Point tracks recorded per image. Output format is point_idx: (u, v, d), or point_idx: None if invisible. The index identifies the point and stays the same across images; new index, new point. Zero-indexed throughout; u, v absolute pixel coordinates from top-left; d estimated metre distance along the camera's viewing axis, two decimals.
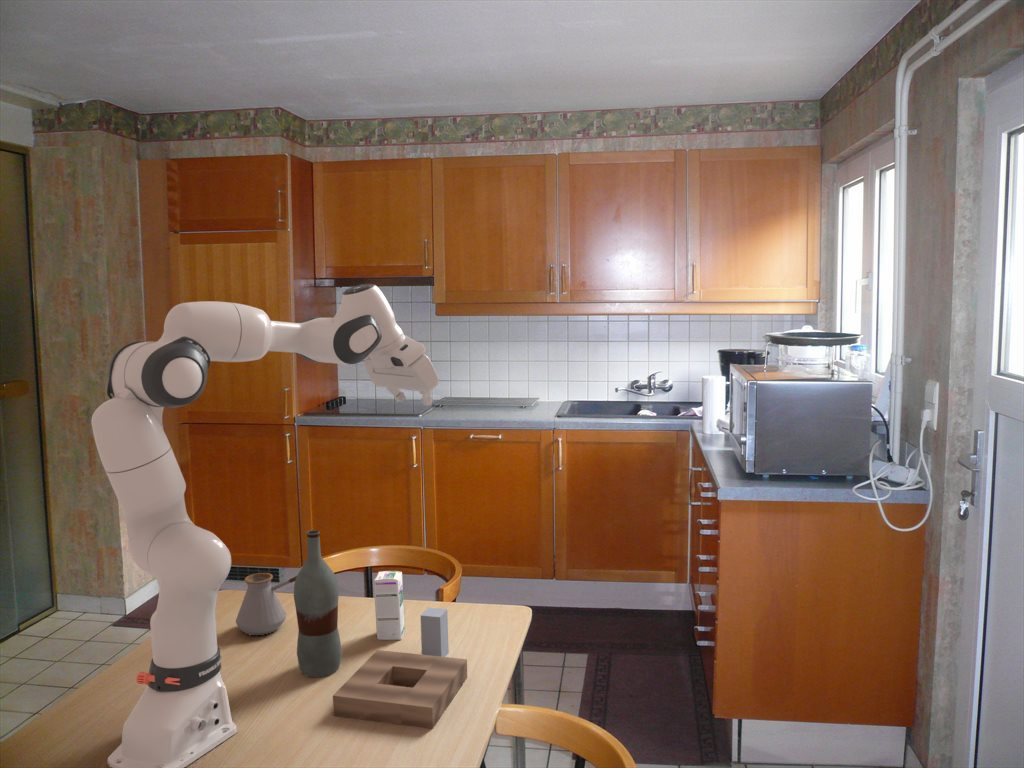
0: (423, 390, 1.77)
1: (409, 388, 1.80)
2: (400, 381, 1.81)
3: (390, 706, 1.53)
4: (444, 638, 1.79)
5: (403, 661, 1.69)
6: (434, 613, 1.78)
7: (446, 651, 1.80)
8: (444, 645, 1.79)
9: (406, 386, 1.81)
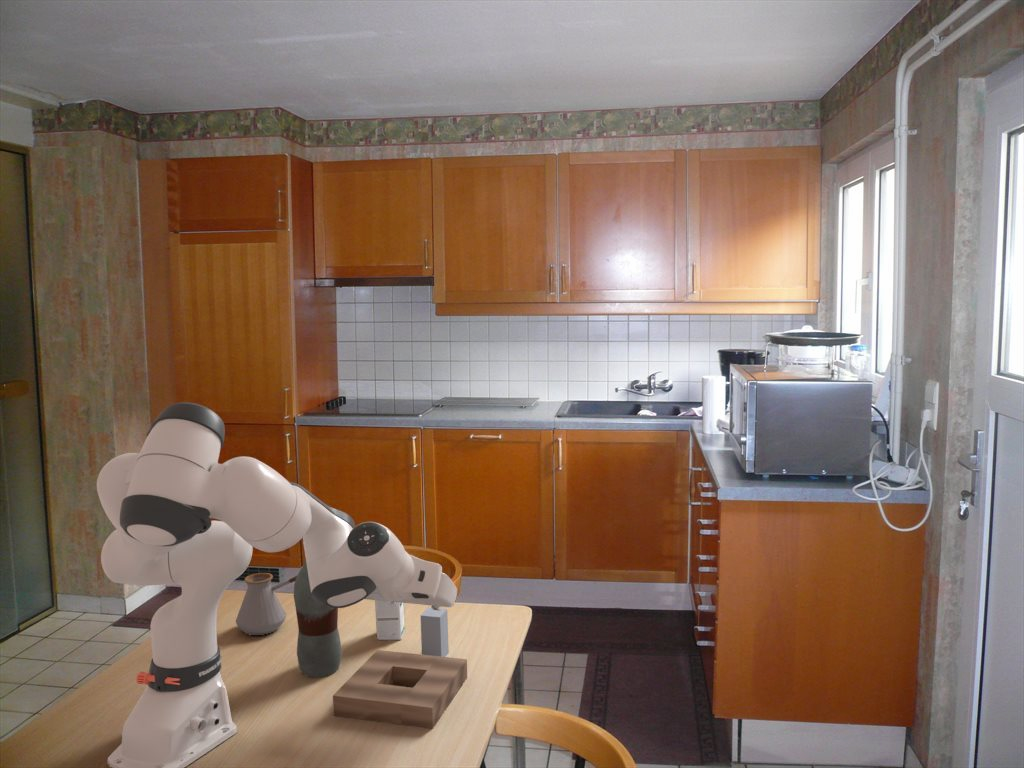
0: (444, 606, 1.60)
1: (421, 604, 1.61)
2: (409, 600, 1.61)
3: (390, 706, 1.53)
4: (444, 638, 1.79)
5: (403, 661, 1.69)
6: (434, 613, 1.78)
7: (446, 651, 1.80)
8: (444, 645, 1.79)
9: (417, 603, 1.61)
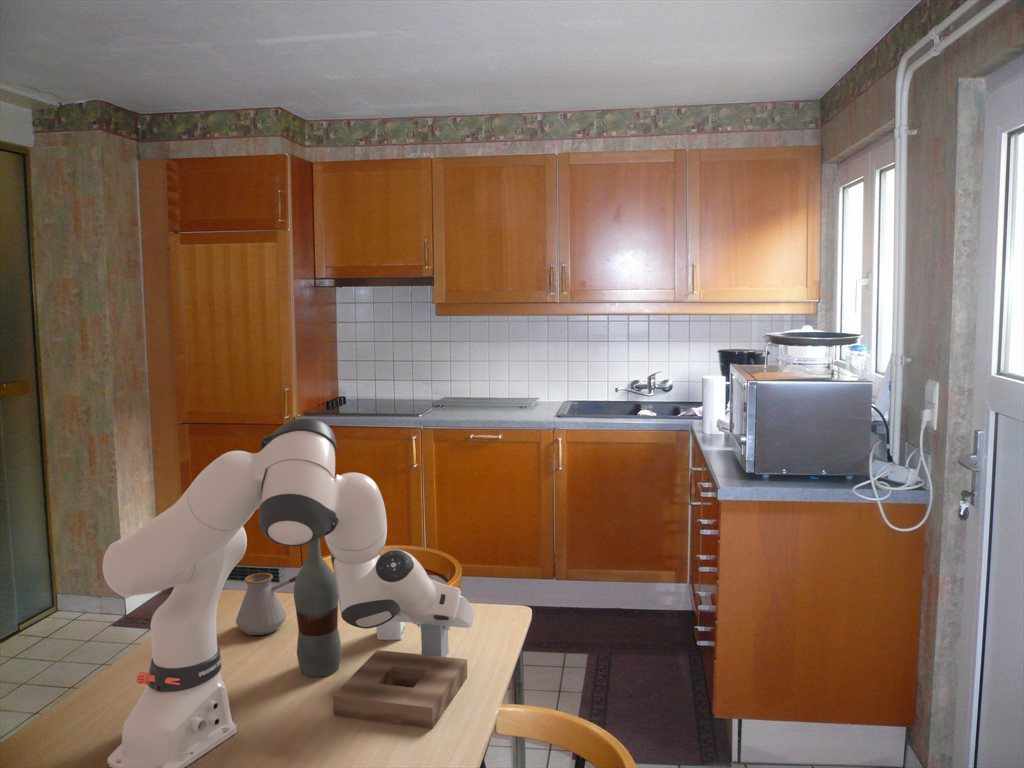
0: (462, 627, 1.73)
1: (441, 625, 1.74)
2: (430, 621, 1.73)
3: (390, 706, 1.53)
4: (444, 637, 1.79)
5: (403, 661, 1.69)
6: None
7: (446, 651, 1.80)
8: (444, 645, 1.79)
9: (437, 624, 1.74)
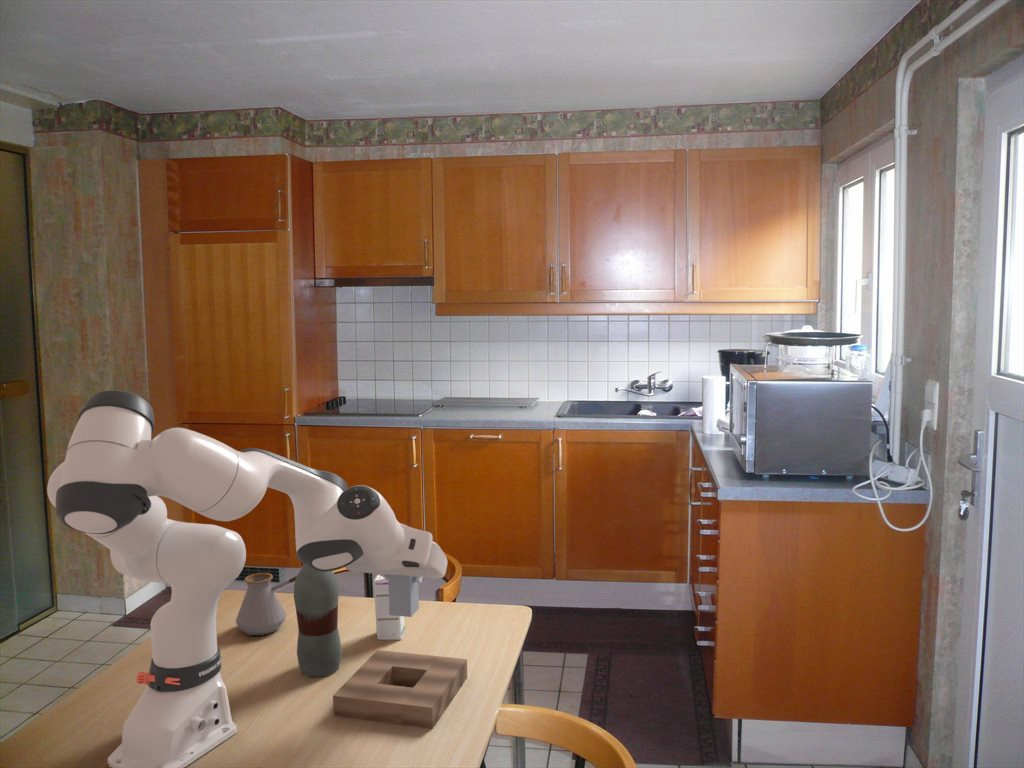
0: (434, 577, 1.56)
1: (411, 575, 1.57)
2: (398, 571, 1.57)
3: (390, 706, 1.53)
4: (414, 591, 1.62)
5: (403, 661, 1.69)
6: None
7: (416, 606, 1.64)
8: (414, 599, 1.63)
9: (407, 574, 1.57)
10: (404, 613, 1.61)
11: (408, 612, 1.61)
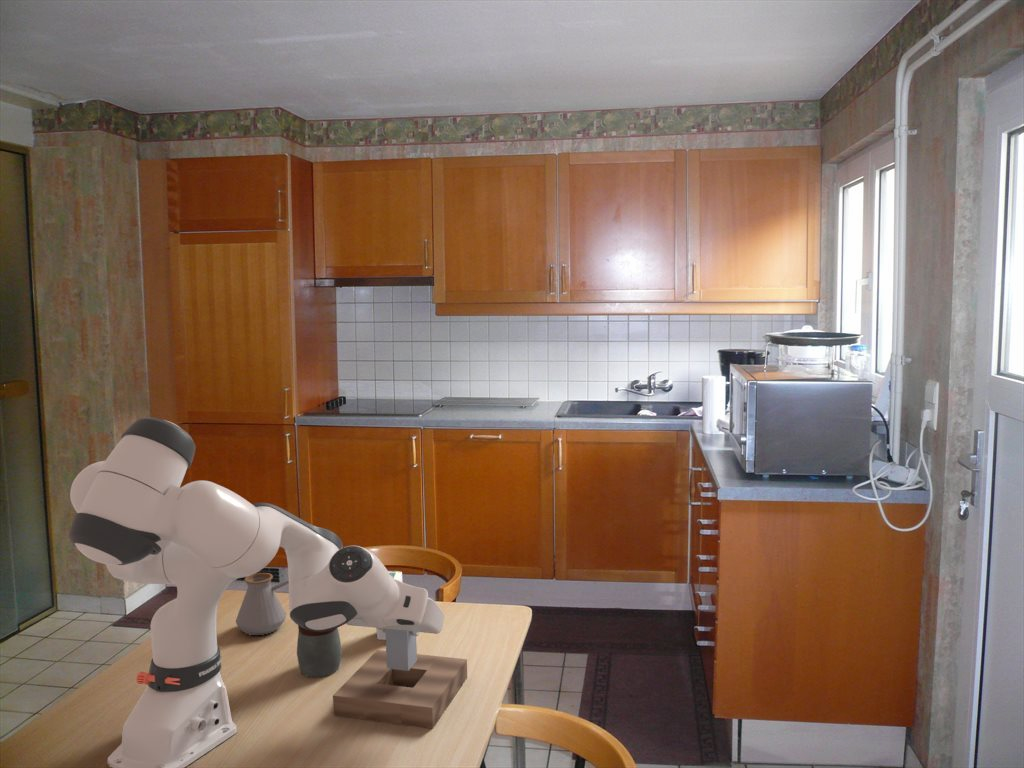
0: (431, 632, 1.55)
1: (407, 630, 1.56)
2: (394, 626, 1.55)
3: (390, 706, 1.53)
4: (411, 644, 1.61)
5: None
6: None
7: (414, 658, 1.62)
8: (412, 652, 1.61)
9: (403, 629, 1.56)
10: (401, 667, 1.60)
11: (405, 666, 1.59)
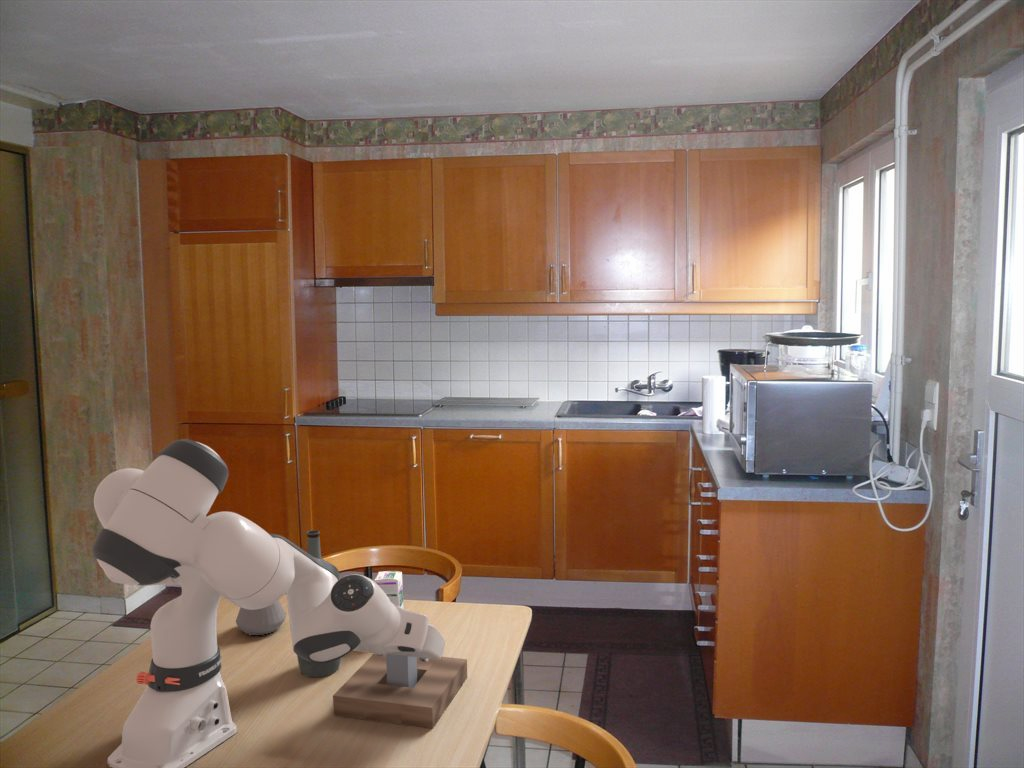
0: (431, 658, 1.55)
1: None
2: (395, 651, 1.56)
3: (390, 706, 1.53)
4: (412, 676, 1.62)
5: None
6: None
7: None
8: (413, 684, 1.62)
9: (404, 654, 1.56)
10: None
11: None
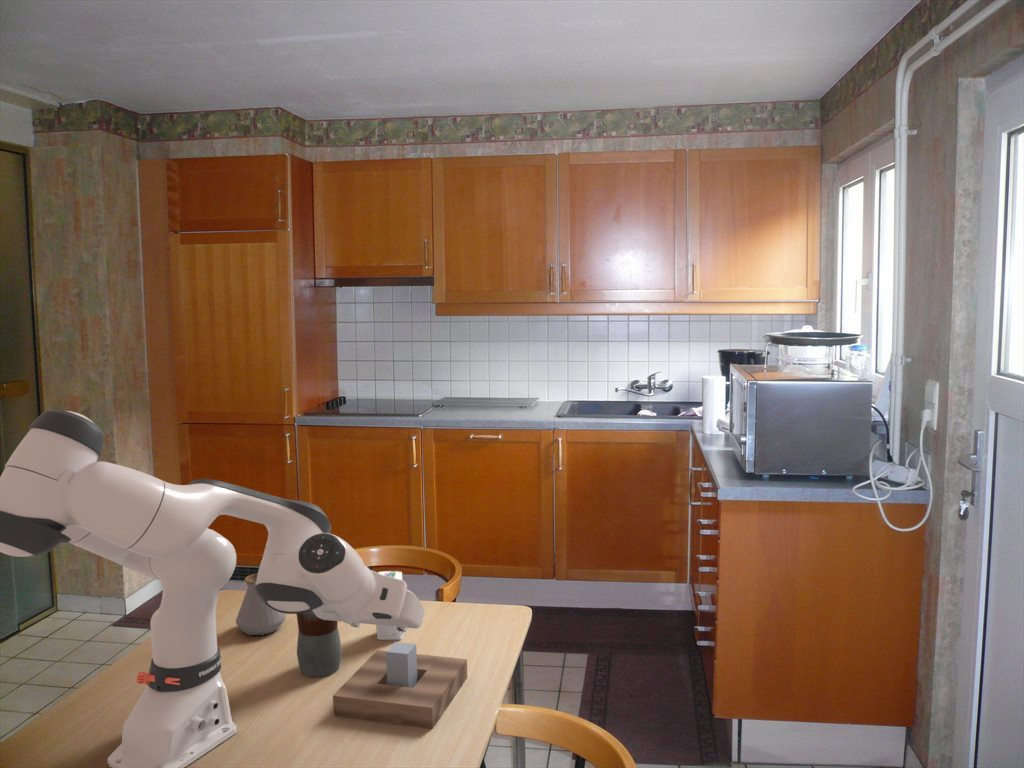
0: (410, 627, 1.45)
1: (385, 625, 1.46)
2: (371, 620, 1.45)
3: (390, 706, 1.53)
4: (412, 676, 1.62)
5: None
6: (401, 649, 1.61)
7: None
8: (413, 684, 1.62)
9: (381, 623, 1.46)
10: None
11: None
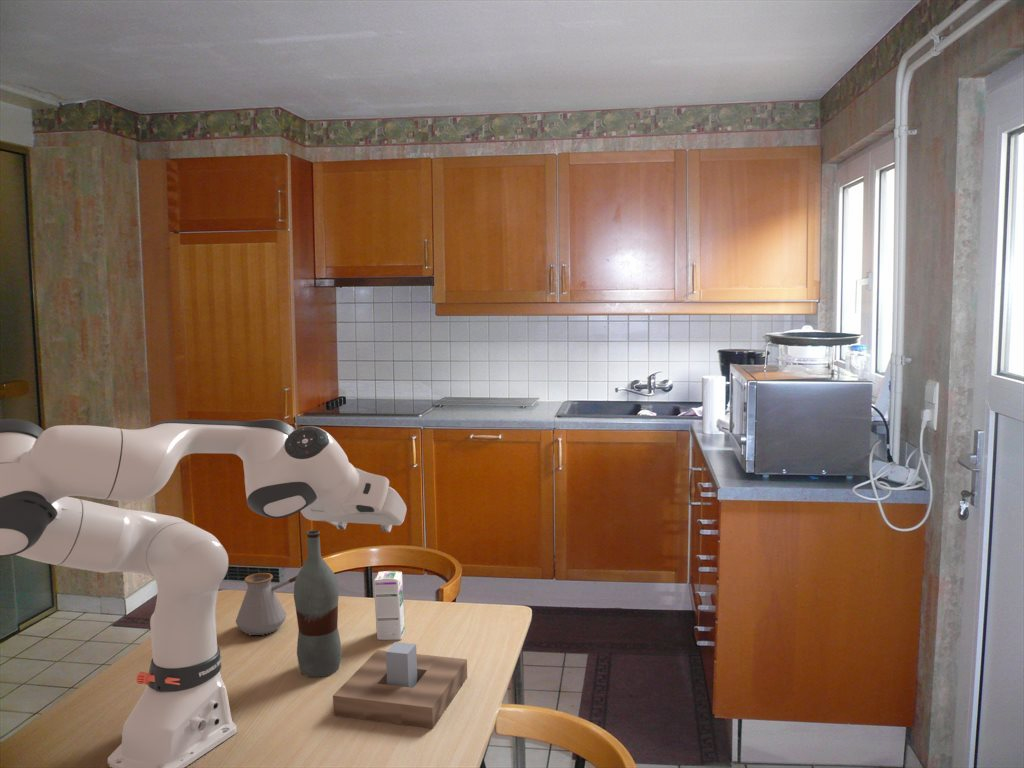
0: (393, 524, 1.52)
1: (369, 523, 1.53)
2: (356, 518, 1.52)
3: (390, 706, 1.53)
4: (412, 676, 1.62)
5: None
6: (401, 649, 1.61)
7: None
8: (413, 684, 1.62)
9: (365, 521, 1.53)
10: None
11: None
